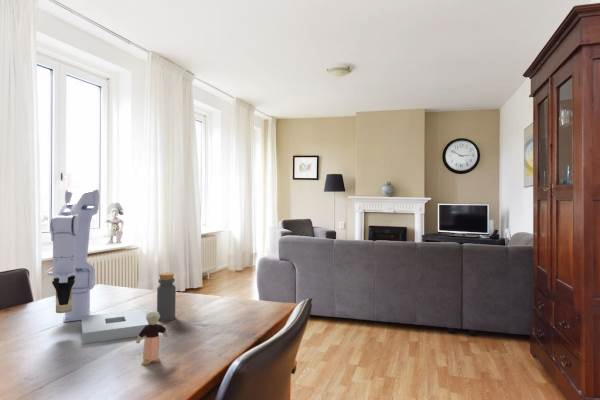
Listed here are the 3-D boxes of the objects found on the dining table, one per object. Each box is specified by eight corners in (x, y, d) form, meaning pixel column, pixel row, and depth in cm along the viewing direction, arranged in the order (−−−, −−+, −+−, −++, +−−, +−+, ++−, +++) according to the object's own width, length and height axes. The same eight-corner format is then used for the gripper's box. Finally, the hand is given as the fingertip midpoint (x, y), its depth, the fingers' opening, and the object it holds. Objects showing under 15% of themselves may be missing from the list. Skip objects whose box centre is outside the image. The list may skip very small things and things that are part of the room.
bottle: (169, 321, 133) (170, 275, 133) (153, 320, 134) (153, 274, 134) (178, 316, 139) (178, 272, 139) (162, 315, 140) (163, 271, 140)
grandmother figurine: (141, 368, 97) (142, 315, 97) (133, 363, 99) (134, 312, 99) (170, 358, 103) (171, 308, 103) (162, 354, 105) (163, 305, 105)
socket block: (81, 325, 128) (81, 316, 128) (142, 318, 136) (142, 309, 136) (82, 344, 112) (82, 333, 112) (151, 334, 121) (151, 323, 121)
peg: (56, 310, 120) (56, 283, 120) (71, 308, 122) (71, 282, 122) (55, 313, 116) (55, 286, 116) (71, 312, 118) (71, 284, 118)
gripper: (49, 254, 123) (49, 298, 124) (46, 260, 111) (46, 310, 111) (76, 252, 127) (75, 296, 127) (76, 259, 114) (75, 307, 114)
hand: (63, 302), depth 119 cm, fingers closed on peg, 4 cm apart
